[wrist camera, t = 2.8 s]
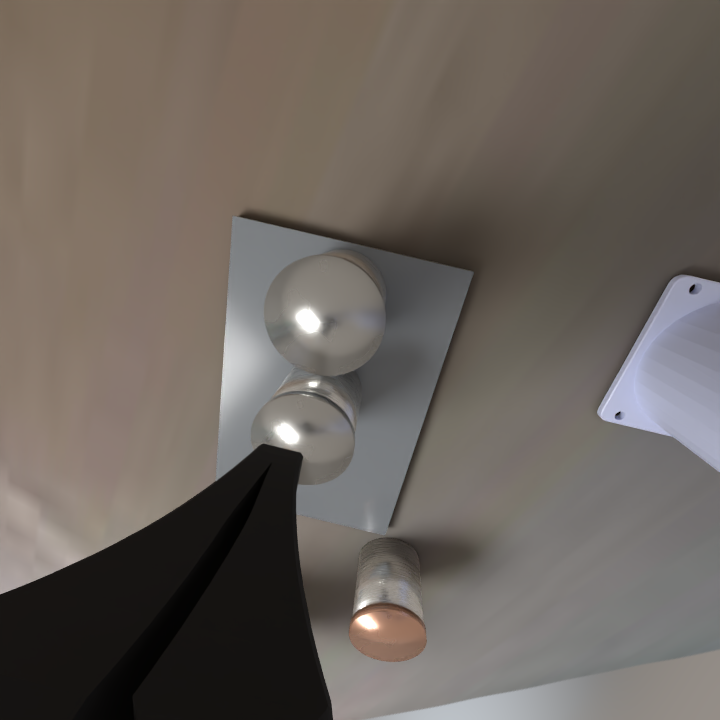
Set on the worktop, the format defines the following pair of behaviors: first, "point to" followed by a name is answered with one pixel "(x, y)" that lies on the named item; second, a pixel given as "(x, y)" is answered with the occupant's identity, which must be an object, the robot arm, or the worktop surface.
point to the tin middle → (312, 422)
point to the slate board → (377, 376)
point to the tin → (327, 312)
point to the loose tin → (388, 602)
